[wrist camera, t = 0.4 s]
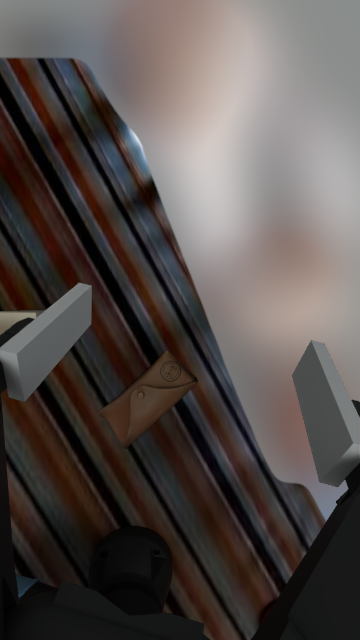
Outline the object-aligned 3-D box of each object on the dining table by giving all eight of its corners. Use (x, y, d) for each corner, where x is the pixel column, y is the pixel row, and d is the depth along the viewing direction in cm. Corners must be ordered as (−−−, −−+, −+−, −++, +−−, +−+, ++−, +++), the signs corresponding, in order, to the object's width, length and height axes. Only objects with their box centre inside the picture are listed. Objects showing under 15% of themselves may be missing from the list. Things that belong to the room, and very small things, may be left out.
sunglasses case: (166, 345, 50) (181, 366, 45) (187, 365, 55) (203, 385, 49) (94, 413, 50) (100, 442, 45) (120, 427, 54) (129, 455, 49)
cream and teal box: (72, 345, 50) (37, 361, 36) (32, 346, 49) (-20, 361, 35) (72, 310, 49) (35, 312, 35) (31, 310, 49) (-21, 312, 35)
